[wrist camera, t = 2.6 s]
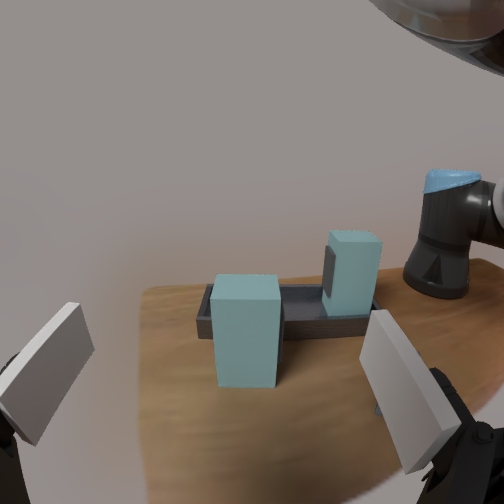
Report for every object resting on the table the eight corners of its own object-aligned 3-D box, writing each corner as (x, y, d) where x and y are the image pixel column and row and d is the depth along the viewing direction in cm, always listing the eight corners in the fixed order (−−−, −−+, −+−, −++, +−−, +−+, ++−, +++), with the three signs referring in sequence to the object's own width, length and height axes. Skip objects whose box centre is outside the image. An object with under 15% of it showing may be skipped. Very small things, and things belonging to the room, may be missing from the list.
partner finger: (358, 299, 42) (368, 231, 38) (368, 316, 37) (382, 242, 34) (318, 300, 42) (325, 230, 38) (325, 318, 37) (335, 241, 34)
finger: (277, 357, 32) (281, 274, 29) (279, 387, 28) (286, 299, 24) (222, 357, 32) (216, 274, 29) (218, 386, 28) (209, 298, 24)
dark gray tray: (360, 299, 45) (363, 283, 44) (381, 333, 36) (386, 315, 35) (208, 300, 45) (207, 284, 44) (198, 338, 36) (196, 319, 35)
